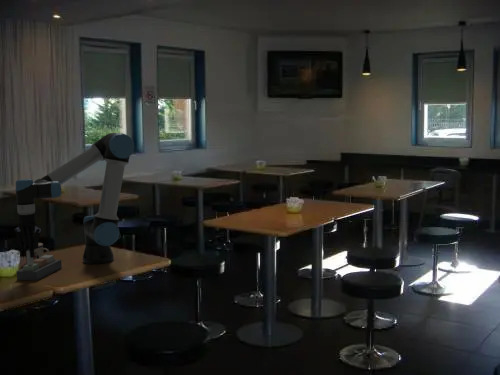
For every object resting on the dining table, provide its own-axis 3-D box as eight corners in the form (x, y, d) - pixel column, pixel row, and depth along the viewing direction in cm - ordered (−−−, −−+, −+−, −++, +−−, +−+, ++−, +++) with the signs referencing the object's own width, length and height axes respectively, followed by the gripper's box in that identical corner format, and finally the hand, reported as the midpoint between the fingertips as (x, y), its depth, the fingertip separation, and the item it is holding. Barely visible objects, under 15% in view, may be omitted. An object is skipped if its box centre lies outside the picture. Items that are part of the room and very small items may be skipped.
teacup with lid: (22, 265, 314) (20, 242, 312) (30, 260, 323) (28, 238, 321) (46, 264, 313) (44, 241, 311) (53, 260, 322) (51, 237, 320)
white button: (54, 262, 304) (54, 255, 303) (49, 265, 299) (48, 257, 299) (45, 262, 305) (44, 255, 304) (40, 264, 300) (39, 257, 300)
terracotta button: (47, 266, 297) (46, 258, 297) (41, 268, 292) (40, 261, 292) (37, 266, 298) (37, 258, 298) (32, 268, 293) (31, 261, 293)
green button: (39, 271, 290) (38, 263, 290) (33, 274, 286) (32, 266, 285) (29, 271, 291) (29, 263, 291) (23, 273, 287) (23, 266, 286)
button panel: (61, 267, 305) (61, 259, 305) (37, 280, 284) (36, 271, 283) (42, 267, 307) (42, 259, 307) (17, 279, 286) (16, 271, 286)
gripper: (8, 214, 283) (12, 266, 286) (35, 214, 280) (39, 266, 283) (18, 211, 290) (22, 262, 293) (43, 212, 287) (47, 262, 290)
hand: (30, 264), depth 288 cm, fingers closed
